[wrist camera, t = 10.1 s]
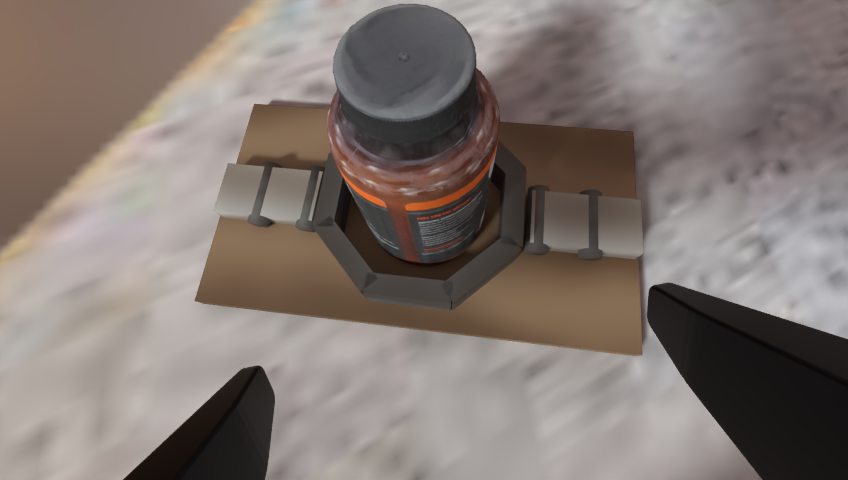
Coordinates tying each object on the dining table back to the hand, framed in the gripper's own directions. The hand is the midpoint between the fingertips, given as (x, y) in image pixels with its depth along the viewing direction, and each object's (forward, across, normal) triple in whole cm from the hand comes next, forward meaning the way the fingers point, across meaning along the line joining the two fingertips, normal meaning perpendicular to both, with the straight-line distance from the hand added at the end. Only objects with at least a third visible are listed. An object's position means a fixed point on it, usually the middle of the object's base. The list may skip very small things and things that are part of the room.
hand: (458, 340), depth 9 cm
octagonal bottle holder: (+14, 0, +2) cm, 14 cm away
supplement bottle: (+13, 0, +2) cm, 13 cm away
